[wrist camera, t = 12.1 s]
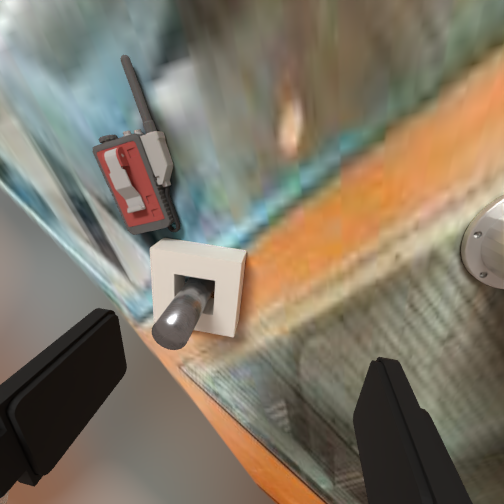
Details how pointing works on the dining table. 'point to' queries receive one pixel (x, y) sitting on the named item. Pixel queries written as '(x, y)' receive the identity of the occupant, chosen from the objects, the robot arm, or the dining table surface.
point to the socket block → (200, 266)
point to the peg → (183, 313)
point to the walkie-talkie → (139, 170)
